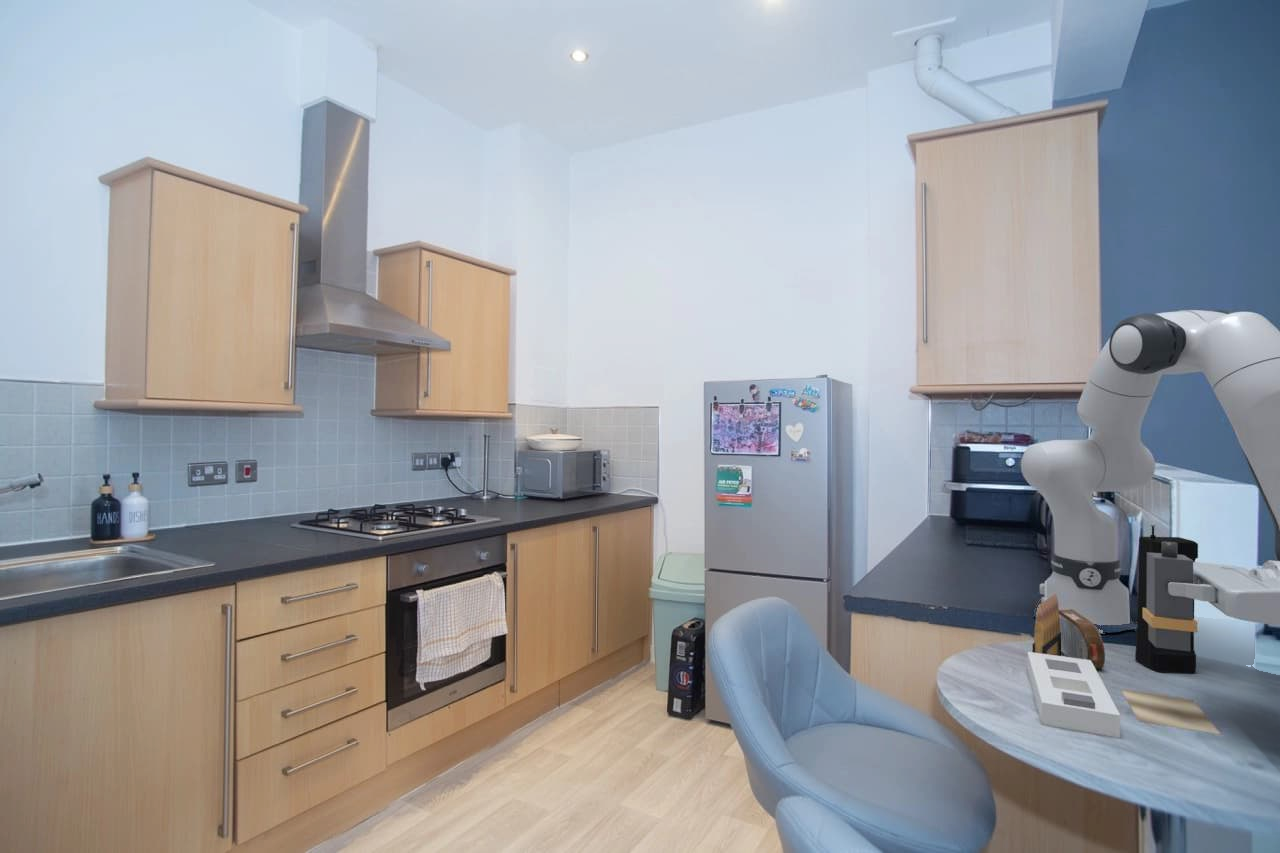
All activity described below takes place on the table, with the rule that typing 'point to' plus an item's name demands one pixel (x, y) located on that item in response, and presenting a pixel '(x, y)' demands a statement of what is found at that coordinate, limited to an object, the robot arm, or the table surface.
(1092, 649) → the tin
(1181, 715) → the oak board
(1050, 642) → the ammunition clip
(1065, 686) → the power strip
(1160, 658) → the portable radio
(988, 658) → the table surface
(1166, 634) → the plug
